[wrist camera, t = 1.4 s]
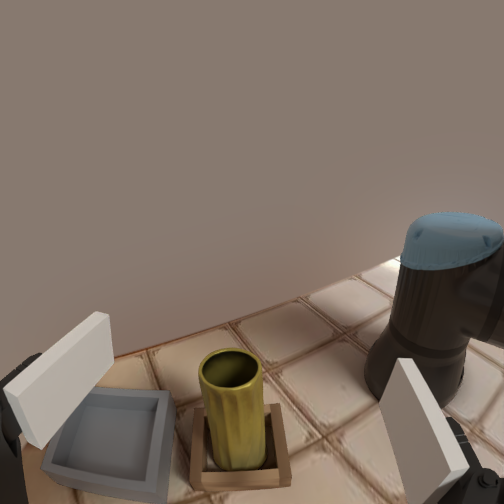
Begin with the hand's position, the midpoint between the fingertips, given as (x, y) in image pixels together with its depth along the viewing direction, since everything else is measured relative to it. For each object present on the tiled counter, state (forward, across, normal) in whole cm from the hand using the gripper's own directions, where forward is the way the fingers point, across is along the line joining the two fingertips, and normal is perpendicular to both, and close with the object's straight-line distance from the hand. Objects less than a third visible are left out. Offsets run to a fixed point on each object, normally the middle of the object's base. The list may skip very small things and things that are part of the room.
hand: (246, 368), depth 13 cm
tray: (+10, -14, -24) cm, 30 cm away
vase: (+12, 0, -22) cm, 25 cm away
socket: (+12, 0, -21) cm, 24 cm away
